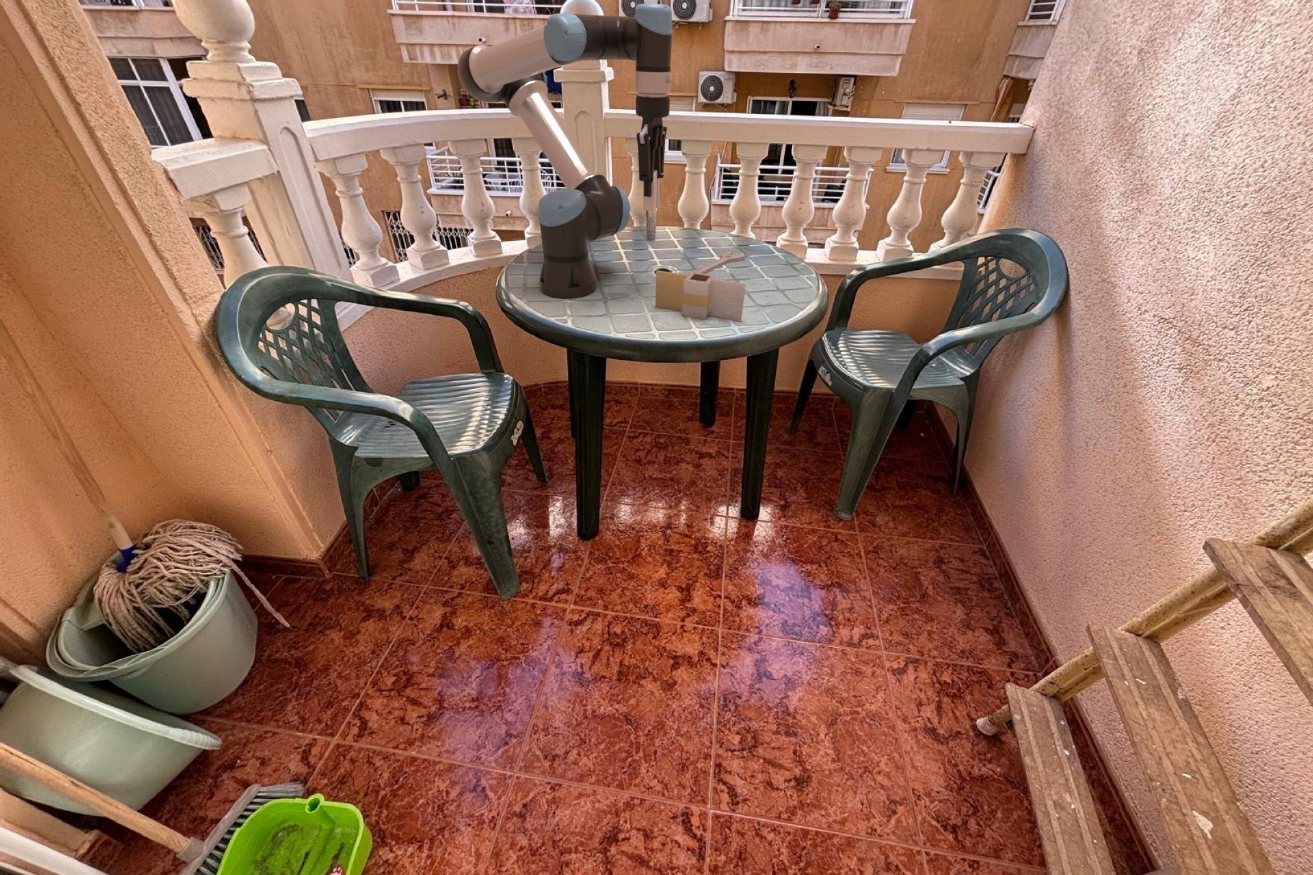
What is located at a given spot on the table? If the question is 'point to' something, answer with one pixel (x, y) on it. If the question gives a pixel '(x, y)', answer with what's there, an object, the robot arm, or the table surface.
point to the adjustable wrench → (720, 262)
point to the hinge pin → (651, 217)
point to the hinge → (699, 295)
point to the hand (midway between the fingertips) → (651, 208)
